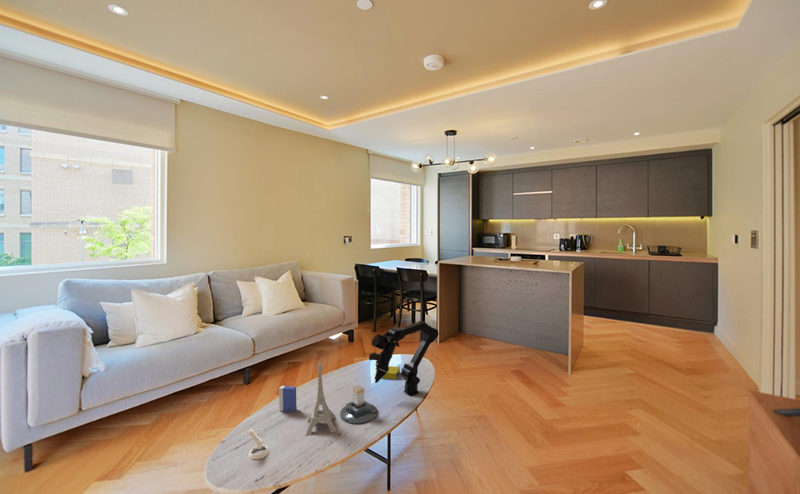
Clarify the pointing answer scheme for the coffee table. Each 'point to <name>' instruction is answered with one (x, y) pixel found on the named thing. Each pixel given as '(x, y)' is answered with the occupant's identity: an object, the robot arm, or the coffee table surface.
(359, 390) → the square box
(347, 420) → the square socket base
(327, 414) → the eiffel tower
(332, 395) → the coffee table surface
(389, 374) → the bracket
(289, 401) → the walkman
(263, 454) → the hook
